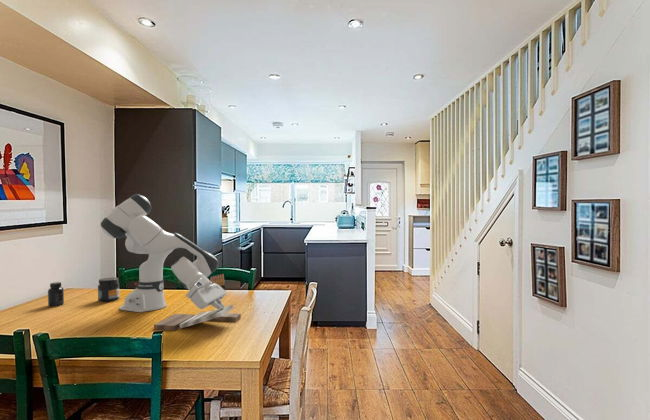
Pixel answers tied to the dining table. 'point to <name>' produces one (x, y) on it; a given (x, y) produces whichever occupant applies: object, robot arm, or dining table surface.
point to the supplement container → (108, 289)
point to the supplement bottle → (55, 294)
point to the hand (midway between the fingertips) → (222, 308)
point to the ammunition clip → (217, 281)
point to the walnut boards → (177, 319)
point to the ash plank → (206, 316)
